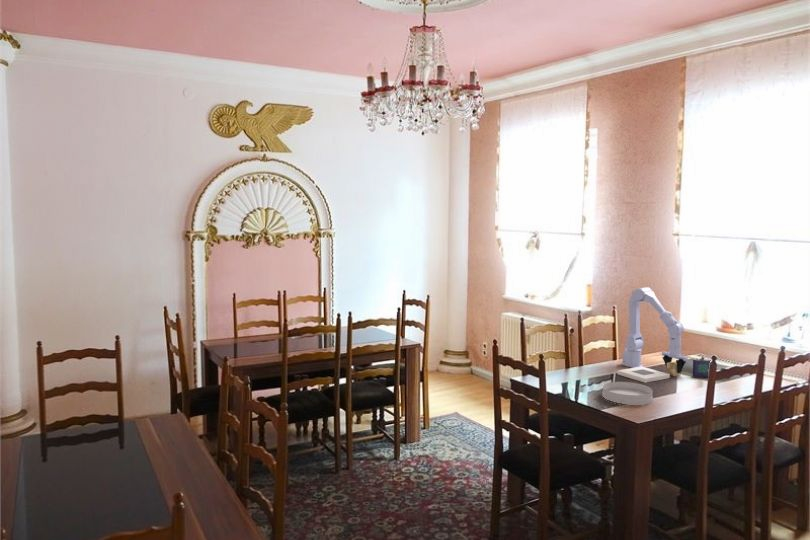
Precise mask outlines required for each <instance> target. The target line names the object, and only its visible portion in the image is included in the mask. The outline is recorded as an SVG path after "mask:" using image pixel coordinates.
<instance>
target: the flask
mask: <svg viewBox="0 0 810 540" xmlns="http://www.w3.org/2000/svg"><path fill="white" fill-rule="evenodd" d="M705 357H706V356H705ZM705 357H704V356H701V357H700V358H693V359H692V377H693V378H709V377H708V369H709V363H710V361H711V360H712V359H706V358H705Z"/></svg>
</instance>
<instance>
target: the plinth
mask: <svg viewBox="0 0 810 540" xmlns="http://www.w3.org/2000/svg"><path fill="white" fill-rule="evenodd" d="M617 375H618V376H620V377H621V376H622V377H625V378H629V379H631V380H635V381H639V382H642V383H645V384H646V383H652V382H654V381H655V382H656V381H660V380H661V381H662V380H666V379H670V378H671V375H670V374H667V373H666V372H662V371H659V370H657V369H653V368H648V367H645V366H644V367H642V366H641V367H636V368H632V367H630V368H625V369H619V370H617Z"/></svg>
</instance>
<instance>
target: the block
mask: <svg viewBox="0 0 810 540" xmlns="http://www.w3.org/2000/svg"><path fill="white" fill-rule="evenodd" d="M665 373H667V374H670V376H674V377H676V376H681V375H682V372H681V373H677V363H676V361H671V362H668V363H667V369H666V372H665Z"/></svg>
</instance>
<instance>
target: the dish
mask: <svg viewBox="0 0 810 540" xmlns="http://www.w3.org/2000/svg"><path fill="white" fill-rule="evenodd" d="M653 392H654V391H653V389H652V388H651V387H650V386H648V385H645V384H643V383H637V382H629V381H613V382H606V383H603V385H602V391H601V397H602V396H603V397H604V398H605V399H607V400H610V401H613V402H617V403H622V404H629V405H641V406H646V405H645V404H648V405H650V404H652V403H653V402H654V400H653V399H654V397H653ZM603 397H602V398H603ZM605 399H604V400H605ZM607 400H606V401H607ZM652 401H653V402H652ZM651 402H652V403H651ZM649 403H650V404H649ZM629 405H628V406H629Z"/></svg>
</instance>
